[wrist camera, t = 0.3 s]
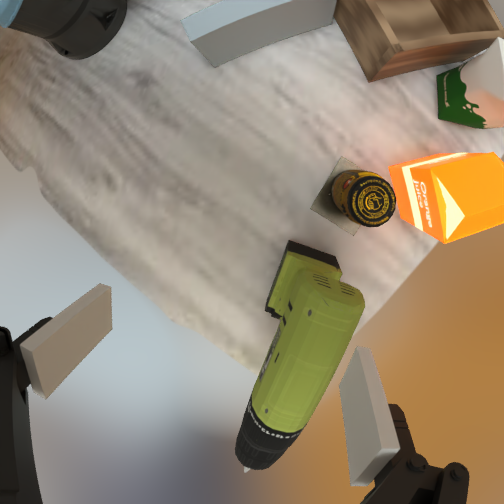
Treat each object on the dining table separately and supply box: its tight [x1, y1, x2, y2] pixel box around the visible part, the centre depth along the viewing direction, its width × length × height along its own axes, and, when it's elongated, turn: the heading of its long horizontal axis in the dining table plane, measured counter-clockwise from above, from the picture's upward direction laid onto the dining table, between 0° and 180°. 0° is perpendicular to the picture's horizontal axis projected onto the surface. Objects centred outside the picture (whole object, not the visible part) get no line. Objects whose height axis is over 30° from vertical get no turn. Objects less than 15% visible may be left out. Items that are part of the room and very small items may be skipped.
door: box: [180, 0, 337, 67], centre depth 30 cm, size 5×18×11 cm, turn 113°
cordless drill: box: [235, 240, 365, 473], centre depth 34 cm, size 23×7×25 cm, turn 163°
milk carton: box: [437, 37, 504, 129], centre depth 25 cm, size 9×9×20 cm
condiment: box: [310, 157, 396, 236], centre depth 35 cm, size 7×8×12 cm
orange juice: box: [388, 152, 504, 244], centre depth 29 cm, size 8×9×20 cm
